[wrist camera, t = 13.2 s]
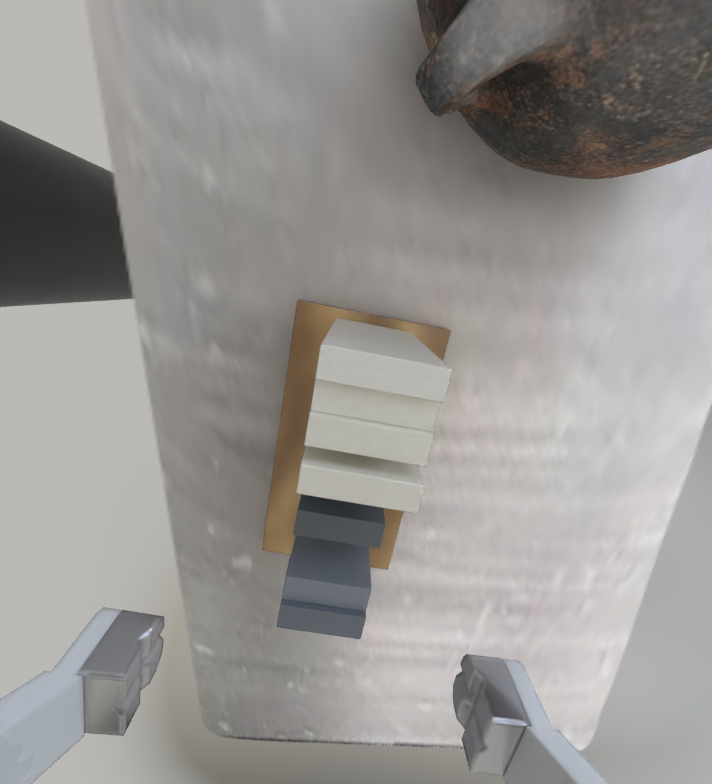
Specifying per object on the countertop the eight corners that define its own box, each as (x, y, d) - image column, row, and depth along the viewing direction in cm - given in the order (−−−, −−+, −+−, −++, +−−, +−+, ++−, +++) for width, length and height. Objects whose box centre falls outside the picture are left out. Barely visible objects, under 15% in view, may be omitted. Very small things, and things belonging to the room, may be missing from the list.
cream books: (326, 377, 29) (303, 445, 17) (336, 317, 28) (320, 343, 15) (396, 390, 30) (426, 467, 17) (409, 331, 28) (453, 368, 16)
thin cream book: (320, 406, 30) (295, 494, 17) (323, 388, 29) (300, 464, 17) (391, 419, 30) (417, 514, 18) (396, 401, 30) (425, 485, 17)
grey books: (295, 544, 34) (276, 627, 26) (310, 458, 31) (294, 519, 23) (359, 554, 34) (360, 639, 26) (379, 469, 32) (387, 534, 23)
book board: (264, 542, 35) (261, 550, 34) (299, 299, 28) (297, 300, 28) (387, 562, 35) (387, 569, 35) (447, 329, 29) (450, 330, 28)
